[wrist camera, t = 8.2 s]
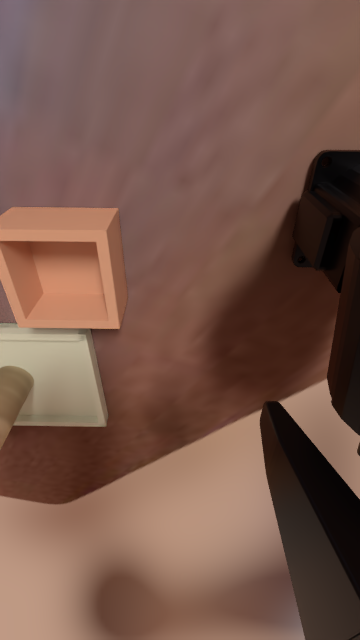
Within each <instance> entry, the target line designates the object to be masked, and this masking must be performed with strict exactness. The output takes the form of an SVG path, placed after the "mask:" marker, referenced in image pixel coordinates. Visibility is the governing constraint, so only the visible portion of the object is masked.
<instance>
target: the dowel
mask: <svg viewBox="0 0 360 640" xmlns="http://www.w3.org/2000/svg"><path fill="white" fill-rule="evenodd" d="M33 385H34V379H33V377H32V375H31V374H30V373H29V372H27V371H26V370H24V369H22V368H20V367H16V366H4V367H1V368H0V450H1V448H2V446H3V444H4V442H5V440H6V438H7V436H8V434H9V432H10V430H11V428H12V426H13V424H14V422H15V420H16V418H17V416H18V414H19V412H20V410H21V408H22V406H23V404H24V403H25V401H26V399H27V397H28V395H29V393H30V391H31V389H32V387H33Z"/></svg>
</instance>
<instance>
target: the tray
mask: <svg viewBox="0 0 360 640" xmlns="http://www.w3.org/2000/svg"><path fill="white" fill-rule="evenodd" d="M4 366H16V367H20V368H22V369H24V370H26V371H27V372H29V373H30V374H31V375H32V377H33V379H34V385H33V387H32V389H31V391H30V393H29V395H28V397H27V399H26V401H25V403H24V404H23V406H22V408H21V410H20V412H19V414H18V416H17V418H16V420H15V422H14V424H13V425H19V426H82V427H106V425H107V420H108V411H107V406H106V401H105V397H104V392H103V387H102V382H101V377H100V372H99V368H98V363H97V358H96V353H95V348H94V343H93V339H92V334H91V329H90V328H20V327H18V324H17V323H0V368H1V367H4Z"/></svg>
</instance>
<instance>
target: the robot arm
mask: <svg viewBox="0 0 360 640" xmlns="http://www.w3.org/2000/svg"><path fill="white" fill-rule="evenodd" d="M325 157H329V162H328V163H327V164H326V165H324V166H322V160H323V159H324V158H325ZM292 237H293V239H294V240H295V245H294V249H293V254H292V261H293V263H294V265H295V266H297V267H314V268H315V270H317V271H323V272H324V274H325V275H326V276H327V278H328V279H329V281H330V282H331V283H332V285H333V286H334V287H335V289H336V290H337V291H338V293H341V295H340V301H339V307H338V313H337V319H336V325H335V331H334V337H333V343H332V349H331V355H330V361H329V367H328V373H327V380H328V385H329V390H330V395H331V397H332V401H331V403H332V406H333V407H334V409H335V410H336V411H337V413H338V415H339V416H340V417H341V419H342V420H343V421H344V422H345V423H346V424H347V425H349V426H350V427H351V428H352V429H353V430H354V431H355V432H356V433H357V434H358V435H360V150H324V151H321V152H320V153H319V154H318V155H317V156H316V158H315V160H314V165H313V169H312V173H311V177H310V182H309V186H308V190H307V191H305V192H304V193H303V194H302V196H301V200H300V205H299V209H298V213H297V218H296V222H295V227H294V231H293V236H292ZM300 256H304V258H303V259H302V260H300V261H298V258H299V257H300ZM260 429H261V437H262V445H263V453H264V461H265V469H266V475H267V480H268V485H269V489H270V493H271V497H272V501H273V505H274V510H275V514H276V518H277V522H278V526H279V531H280V535H281V539H282V543H283V548H284V552H285V556H286V560H287V564H288V569H289V573H290V576H291V581H292V585H293V590H294V594H295V598H296V602H297V606H298V610H299V615H300V619H301V623H302V627H303V631H304V636H305V640H360V499H359V498H358V497H357V496H356V495H355V493H354V492H353V491H352V490H351V489H350V487H349V486H348V485H347V484H346V482H345V481H344V480H343V479H342V478H341V477H340V475H339V474H338V473H337V472H336V470H335V469H334V468H333V467H332V466H331V464H330V463H329V462H328V461H327V459H326V458H325V457H324V456H323V455H322V453H321V452H320V451H319V450H318V449H317V447H316V446H315V445H314V444H313V443H312V442H311V440H310V439H309V438H308V437H307V435H306V434H305V433H304V432H303V431H302V429H301V428H300V427H299V426H298V424H297V423H296V422H295V421H294V420H293V418H292V417H291V416H290V415H289V414H288V412H287V411H286V410H285V409H284V408H283V406H282V405H281V404H280V403H279V402H277V401H266V402H265V403H264V405H263V409H262V413H261V417H260ZM357 453H358V455H359V456H360V443H359V446H358V450H357Z"/></svg>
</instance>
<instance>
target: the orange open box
mask: <svg viewBox="0 0 360 640" xmlns="http://www.w3.org/2000/svg"><path fill="white" fill-rule="evenodd" d="M0 279H1V282H2V284H3V287H4V290H5V292H6V295H7V298H8V300H9V303H10V306H11V308H12V311H13V314H14V316H15V319H16V321H17V324H18V327H20V328H93V329H120V326H121V322H122V319H123V315H124V311H125V308H126V304H127V300H128V292H127V283H126V274H125V265H124V256H123V246H122V237H121V228H120V219H119V210H118V208H55V207H12V208H10V209H9V210H8V211H6V212H5V213H3V214H2V215H1V216H0Z"/></svg>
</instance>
